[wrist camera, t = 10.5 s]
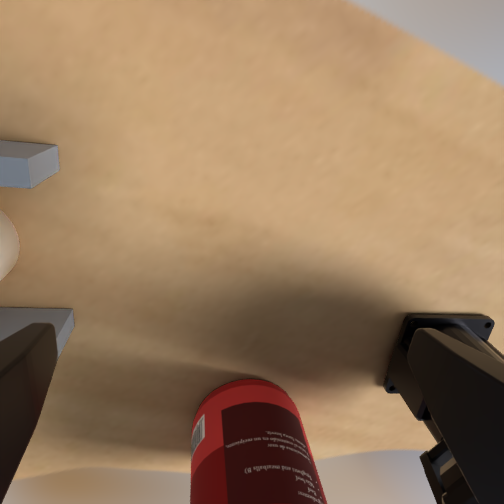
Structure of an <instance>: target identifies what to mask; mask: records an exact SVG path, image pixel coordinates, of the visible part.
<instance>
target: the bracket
mask: <svg viewBox="0 0 504 504" xmlns="http://www.w3.org/2000/svg"><path fill="white" fill-rule="evenodd" d="M59 170H60V167H59V157H58V146H57V145H49V144H38V143H26V142H15V141H4V140H0V186H1V187H16V188H30V189H31V188H33V187H35V186H36V185H38V184H39V183H41V182H42V181H44V180H45V179H47V178H49V177H50V176H52V175H53V174H55V173H56V172H58V171H59ZM34 322H47V323H52V324H53V325H54V327H55V332H56V341H57V349H58V358H59V356H60V354H61V352H62V350H63V348H64V346H65V344H66V342H67V340H68V338H69V336H70V334H71V332H72V330H73V328H74V316H73V309H57V308H8V307H0V341H1V340H3V339H5V338H6V337H8V336H10V335H12V334H13V333H15V332H17V331H19V330H21V329H22V328H24V327H26V326H28V325H29V324H31V323H34ZM58 358H57V360H58Z"/></svg>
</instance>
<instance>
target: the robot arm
mask: <svg viewBox="0 0 504 504" xmlns="http://www.w3.org/2000/svg"><path fill="white" fill-rule="evenodd" d="M413 321H414V322H413ZM411 322H413V323H412V324H411ZM494 324H495V323H494V321H493V320H492V319H491V318H490V317H489V316H469V315H422V314H412V315H409V316H407V317H406V318H405V320H404V322H403V325H402V328H401V331H400V334H399V338H398V341H397V344H396V346H395V349H394V352H393V355H392V358H391V361H390V364H389V367H388V370H387V375H386V378H385V381H384V384H383V387H384V389H385V390H386V392H387V393H400V395H401V396H402V398H403V399H404V401H405V402H406V404H407V406H408V407H409V409H410V410H411V412H412V413H413V415H414V416H415V418H416V419H417V420H418V421H423V422H424V423H425V425H426V426H427V428H428V429H429V431H430V432H431V434H432V435H433V437H434V438H435V440H436V441H437V443H438V444H437V445H435V446H434V447H433V448H432V449H431V450H429V451H425V452H424V453H423V454H422V455H421V456H420V460H421V462H422V465H423V467H424V471H425V474H426V477H427V479H428V482H429V484H430V487H431V490H432V492H433V494H434V497H435V500H436V502H437V504H504V355H503V354H502V353H501V352H499V351H498V350H497V349H496V348H495V347H494V346H493V345H492V344H490V343H489V342H488V341H487V340H488V338H489V336H490V334H491V331H492V329H493V327H494ZM57 358H58V349H57V341H56V332H55V327H54V325H53V324H52V323H47V322H34V323H31V324H29V325H28V326H26V327H24V328H22V329H21V330H19V331H17V332H15V333H13V334H12V335H10V336H8V337H6V338H5V339H3V340H1V341H0V504H2V502H3V499H4V497H5V495H6V493H7V490H8V488H9V486H10V484H11V482H12V479H13V477H14V475H15V473H16V471H17V468H18V466H19V464H20V462H21V459H22V457H23V455H24V453H25V450H26V448H27V446H28V444H29V442H30V439H31V437H32V435H33V432H34V430H35V428H36V425H37V422H38V419H39V417H40V414H41V410H42V407H43V404H44V401H45V398H46V395H47V391H48V388H49V385H50V382H51V379H52V376H53V372H54V369H55V366H56V363H57ZM390 386H391V387H390Z"/></svg>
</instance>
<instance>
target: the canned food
mask: <svg viewBox="0 0 504 504" xmlns="http://www.w3.org/2000/svg"><path fill="white" fill-rule="evenodd" d="M190 504H327V501H326V498H325V495H324V492H323V488H322V485H321V482H320V479H319V476H318V472H317V470H316V466H315V463H314V460H313V456H312V453H311V450H310V447H309V444H308V440H307V437H306V434H305V431H304V428H303V424H302V421H301V418H300V415H299V412H298V410H297V407H296V405H295V404H294V402H293V401H292V400H291V398H290V397H289V396H288V395H287V393H286V392H285V391H284V390H283V389H281V388H280V387H279V386H277V385H275V384H273V383H271V382H267V381H263V380H256V379H245V380H238V381H234V382H230V383H228V384H225V385H223V386H221V387H219V388H217V389H216V390H214V391H213V392H211V393H210V394H209V395H208V396H207V397H206V398H205V399H204V401H203V402H202V403H201V405H200V406H199V409H198V411H197V413H196V416H195V418H194V421H193V426H192V445H191V495H190Z"/></svg>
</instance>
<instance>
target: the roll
mask: <svg viewBox="0 0 504 504" xmlns="http://www.w3.org/2000/svg"><path fill="white" fill-rule="evenodd" d="M19 253H20V241H19V237H18V234H17V231H16V229H15V227H14V225H13V223H12V222H11V220H10V219H9V218H8V217H7V215H6V214H5V213H4V212H3V211H2V210H1V209H0V281H1V280H2V279H3V278H4V277H5V276H6V275H7V274H8V273H9V272H10V271H11V270H12V269H13V267H14V266H15V265H16V263H17V260H18V257H19Z"/></svg>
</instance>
